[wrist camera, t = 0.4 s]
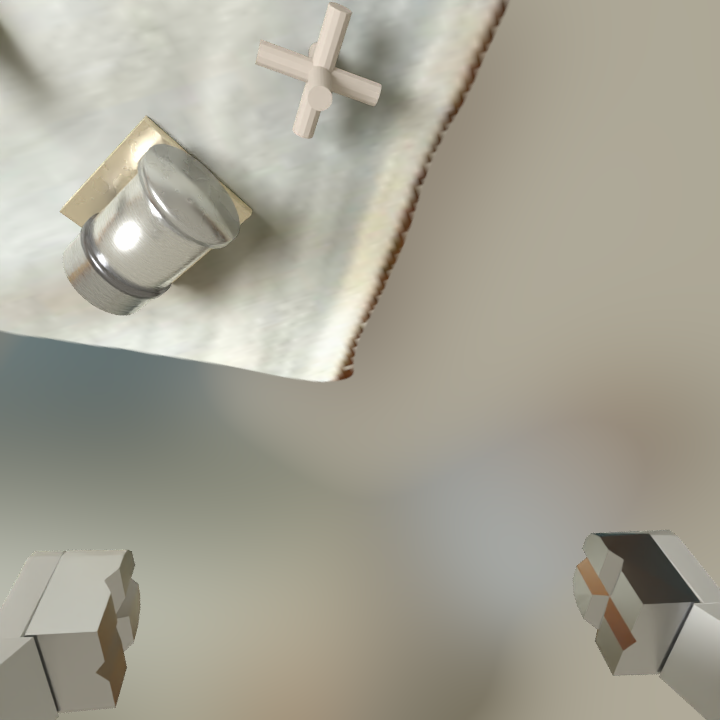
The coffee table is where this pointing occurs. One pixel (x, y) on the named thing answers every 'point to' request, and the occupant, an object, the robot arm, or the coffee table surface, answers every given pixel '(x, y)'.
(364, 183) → the coffee table surface
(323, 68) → the pipe connector
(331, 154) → the coffee table surface
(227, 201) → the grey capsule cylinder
